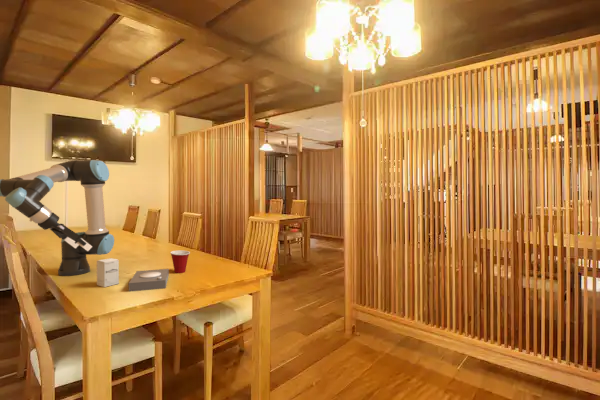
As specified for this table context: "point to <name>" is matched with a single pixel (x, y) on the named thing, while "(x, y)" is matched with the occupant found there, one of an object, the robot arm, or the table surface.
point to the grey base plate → (149, 280)
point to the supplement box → (107, 272)
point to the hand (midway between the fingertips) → (83, 247)
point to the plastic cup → (180, 260)
